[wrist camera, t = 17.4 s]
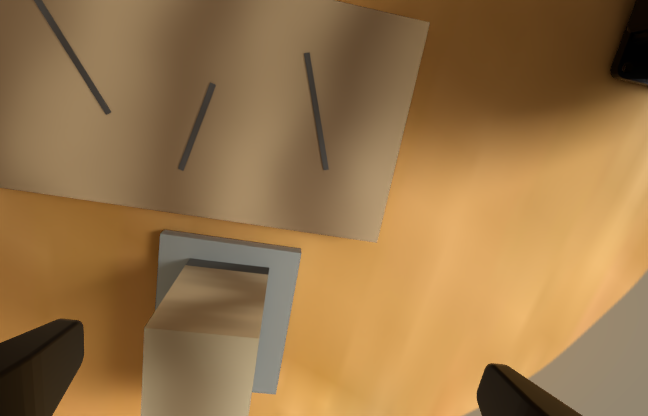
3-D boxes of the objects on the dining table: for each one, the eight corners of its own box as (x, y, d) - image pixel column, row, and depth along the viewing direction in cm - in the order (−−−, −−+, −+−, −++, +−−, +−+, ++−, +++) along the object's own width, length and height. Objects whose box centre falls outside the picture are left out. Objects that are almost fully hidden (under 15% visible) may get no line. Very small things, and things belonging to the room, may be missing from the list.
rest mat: (301, 248, 19) (301, 253, 19) (276, 386, 22) (275, 394, 21) (164, 229, 18) (160, 233, 18) (154, 375, 21) (150, 383, 20)
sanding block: (269, 267, 19) (259, 338, 13) (253, 378, 21) (239, 481, 15) (189, 258, 18) (144, 327, 13) (181, 372, 20) (138, 476, 15)
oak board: (418, 29, 16) (430, 22, 15) (370, 232, 19) (377, 243, 18) (-15, -70, 14) (-51, -90, 13) (0, 176, 17) (-28, 183, 15)
